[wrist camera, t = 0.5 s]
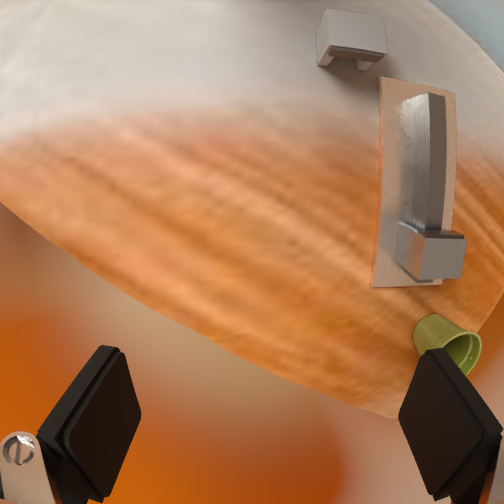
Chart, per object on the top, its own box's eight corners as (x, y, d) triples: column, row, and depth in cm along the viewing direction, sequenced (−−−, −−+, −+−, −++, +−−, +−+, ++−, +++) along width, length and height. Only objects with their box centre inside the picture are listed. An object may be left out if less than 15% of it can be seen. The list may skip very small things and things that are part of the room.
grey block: (315, 33, 28) (326, 8, 22) (363, 39, 28) (383, 17, 21) (317, 68, 30) (329, 48, 23) (366, 73, 30) (388, 57, 23)
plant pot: (462, 315, 38) (491, 343, 30) (428, 362, 41) (450, 395, 33) (427, 293, 37) (458, 322, 29) (390, 345, 40) (412, 381, 32)
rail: (378, 78, 30) (405, 60, 22) (450, 94, 29) (486, 85, 22) (369, 284, 37) (392, 313, 30) (438, 281, 37) (467, 306, 29)
